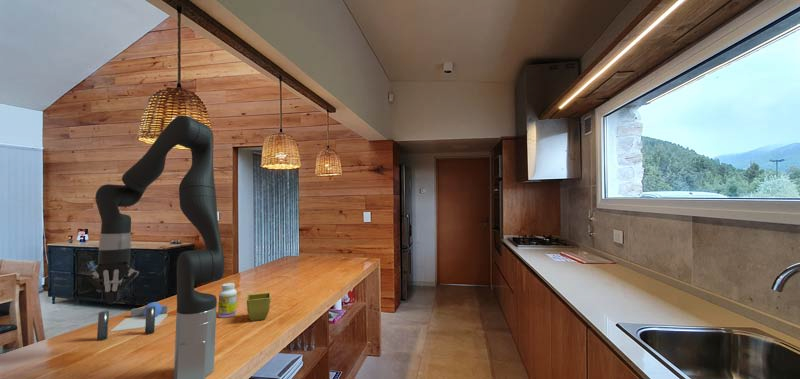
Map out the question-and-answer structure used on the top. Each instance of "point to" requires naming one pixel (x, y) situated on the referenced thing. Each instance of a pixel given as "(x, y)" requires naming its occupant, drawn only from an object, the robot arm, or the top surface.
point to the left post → (102, 325)
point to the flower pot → (258, 306)
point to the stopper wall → (139, 311)
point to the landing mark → (137, 323)
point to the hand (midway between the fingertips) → (112, 302)
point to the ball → (157, 308)
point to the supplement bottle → (227, 301)
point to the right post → (150, 320)
